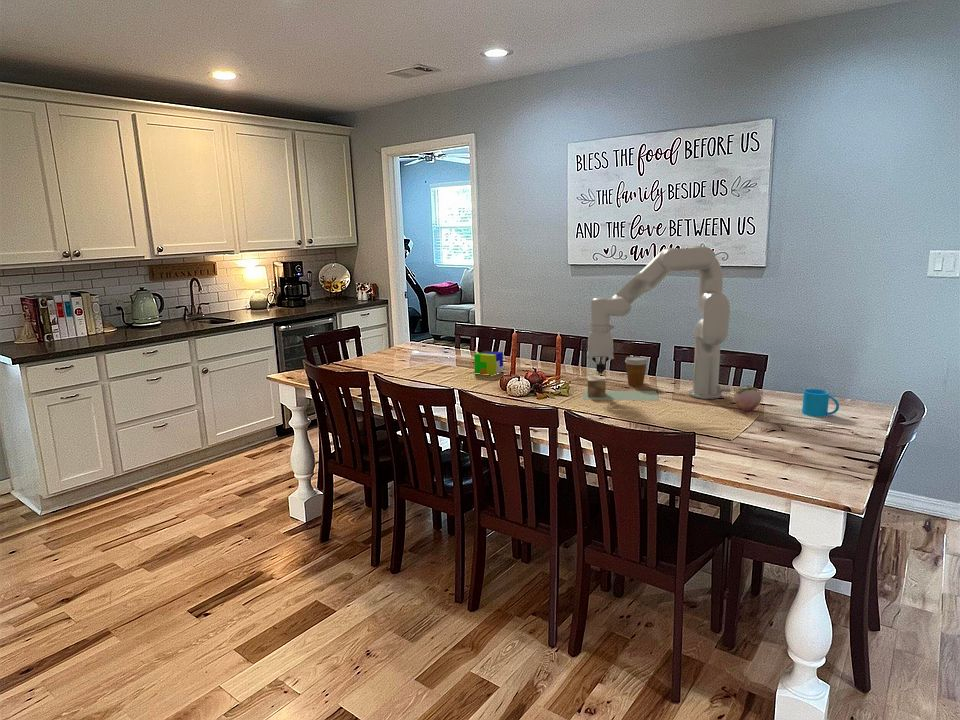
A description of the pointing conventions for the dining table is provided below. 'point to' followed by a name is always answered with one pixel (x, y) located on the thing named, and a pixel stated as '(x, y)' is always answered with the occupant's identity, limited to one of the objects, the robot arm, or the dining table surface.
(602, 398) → the mat
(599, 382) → the walnut block
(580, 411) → the dining table surface
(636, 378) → the disposable coffee cup
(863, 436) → the dining table surface
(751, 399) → the decorative fruit
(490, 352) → the puzzle toy
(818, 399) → the mug
